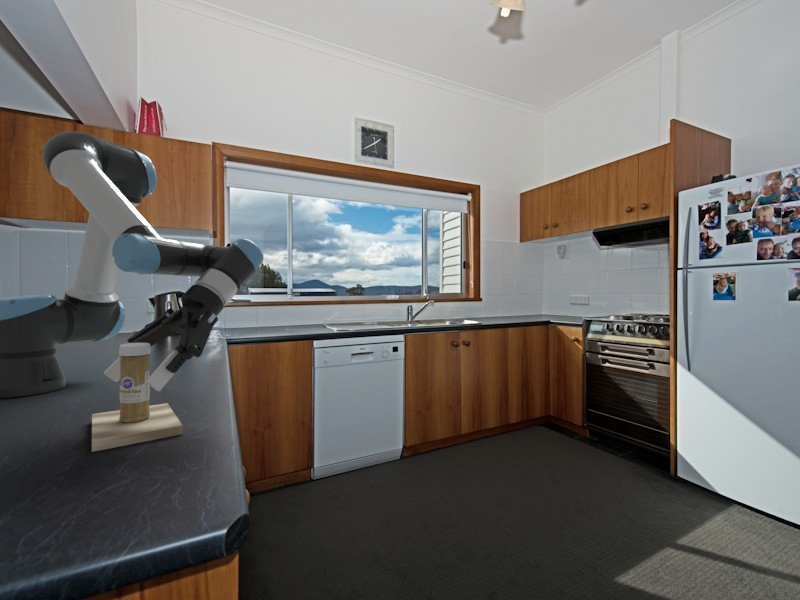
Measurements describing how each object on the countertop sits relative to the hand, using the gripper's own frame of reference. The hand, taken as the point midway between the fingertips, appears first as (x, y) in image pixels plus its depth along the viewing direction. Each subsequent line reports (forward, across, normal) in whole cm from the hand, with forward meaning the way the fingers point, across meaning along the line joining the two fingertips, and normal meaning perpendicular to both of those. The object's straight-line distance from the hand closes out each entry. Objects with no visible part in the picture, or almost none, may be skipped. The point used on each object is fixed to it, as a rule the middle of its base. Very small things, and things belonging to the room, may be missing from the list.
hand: (129, 382), depth 67 cm
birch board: (+5, 0, -7) cm, 8 cm away
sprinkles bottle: (+4, 0, -6) cm, 7 cm away
